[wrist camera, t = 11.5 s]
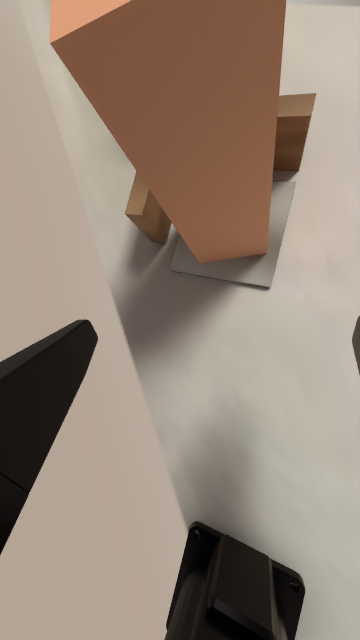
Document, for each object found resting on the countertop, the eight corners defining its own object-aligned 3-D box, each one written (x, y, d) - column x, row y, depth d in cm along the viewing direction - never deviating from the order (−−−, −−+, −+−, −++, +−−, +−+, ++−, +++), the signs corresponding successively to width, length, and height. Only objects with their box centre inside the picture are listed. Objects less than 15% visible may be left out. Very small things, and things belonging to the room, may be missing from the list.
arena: (270, 287, 16) (274, 267, 12) (145, 266, 19) (116, 244, 15) (302, 153, 16) (316, 93, 12) (175, 153, 19) (154, 104, 15)
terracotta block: (266, 253, 16) (292, -85, 4) (199, 263, 17) (50, 43, 5) (260, 190, 16) (263, -282, 4) (196, 205, 18) (55, -122, 5)
